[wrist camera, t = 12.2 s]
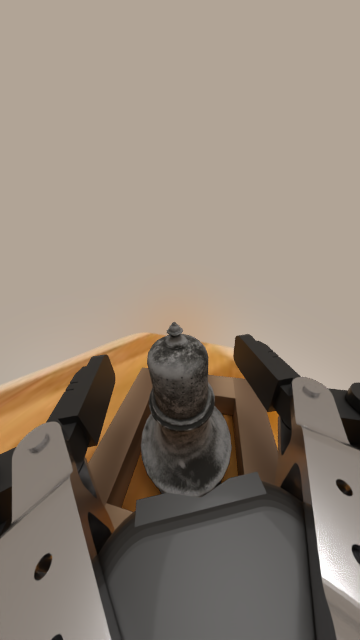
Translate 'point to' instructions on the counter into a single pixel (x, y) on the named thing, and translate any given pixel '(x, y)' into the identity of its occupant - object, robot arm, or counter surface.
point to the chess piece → (183, 419)
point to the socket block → (127, 426)
